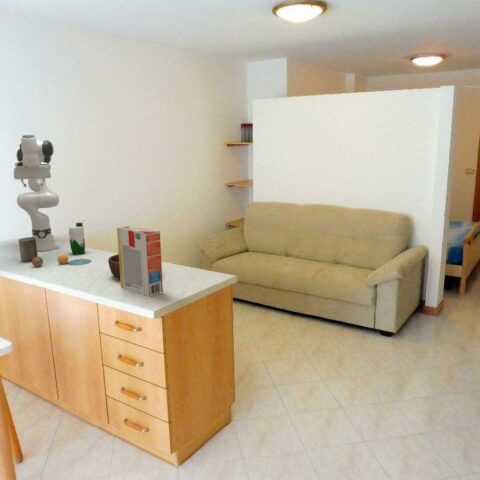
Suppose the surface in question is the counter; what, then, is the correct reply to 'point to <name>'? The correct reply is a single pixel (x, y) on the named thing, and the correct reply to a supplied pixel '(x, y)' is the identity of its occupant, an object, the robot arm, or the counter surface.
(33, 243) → the pillar candle
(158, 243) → the cereal box
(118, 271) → the wooden bowl
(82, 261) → the teal mark
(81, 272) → the counter surface
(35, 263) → the walnut ball
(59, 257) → the orange ball
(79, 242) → the milk carton
